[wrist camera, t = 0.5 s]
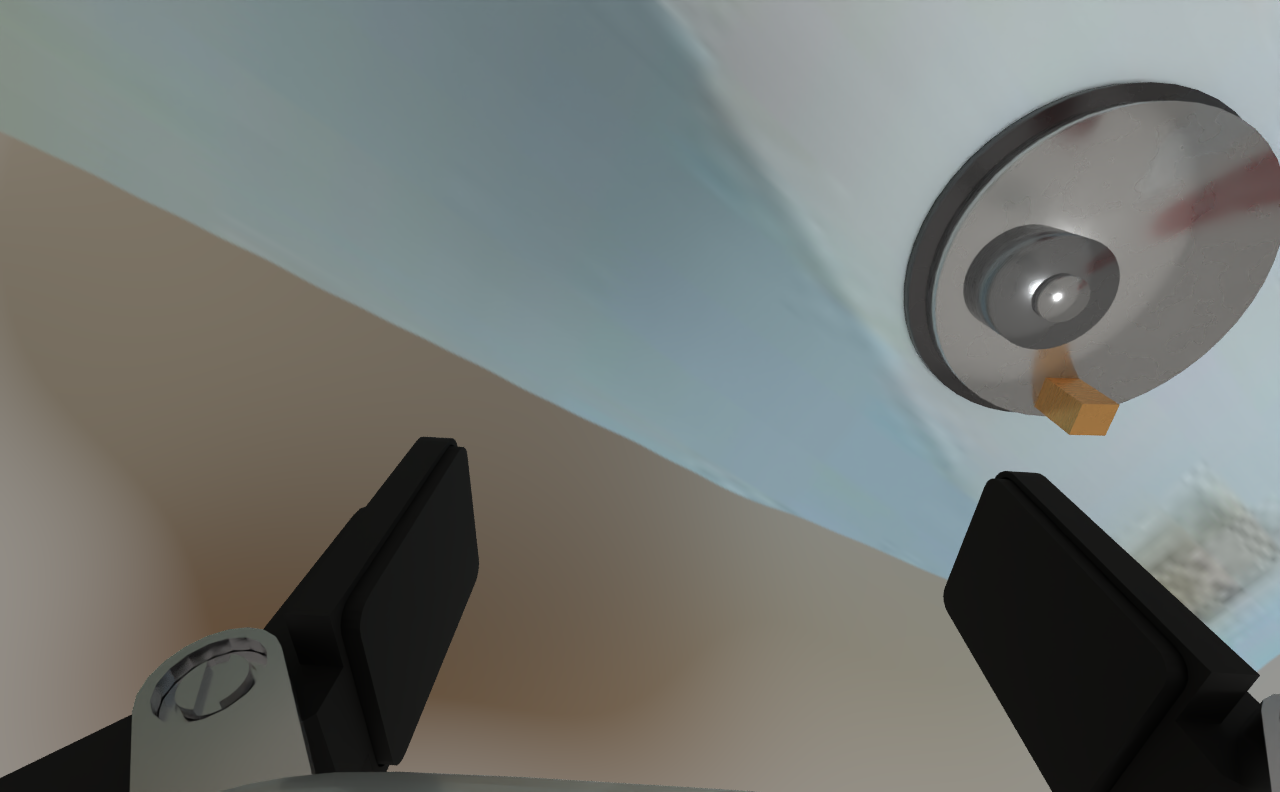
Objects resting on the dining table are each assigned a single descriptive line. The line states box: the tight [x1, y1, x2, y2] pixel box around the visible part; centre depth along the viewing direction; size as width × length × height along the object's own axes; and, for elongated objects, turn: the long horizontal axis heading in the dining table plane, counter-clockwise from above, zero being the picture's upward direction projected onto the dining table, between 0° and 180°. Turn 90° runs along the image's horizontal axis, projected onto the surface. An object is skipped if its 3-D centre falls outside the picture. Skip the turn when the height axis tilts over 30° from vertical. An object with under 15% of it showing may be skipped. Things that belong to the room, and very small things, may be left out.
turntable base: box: [904, 82, 1239, 412], centre depth 39 cm, size 23×23×1 cm
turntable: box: [925, 101, 1280, 436], centre depth 36 cm, size 21×21×6 cm
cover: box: [963, 224, 1120, 350], centre depth 35 cm, size 7×7×5 cm
